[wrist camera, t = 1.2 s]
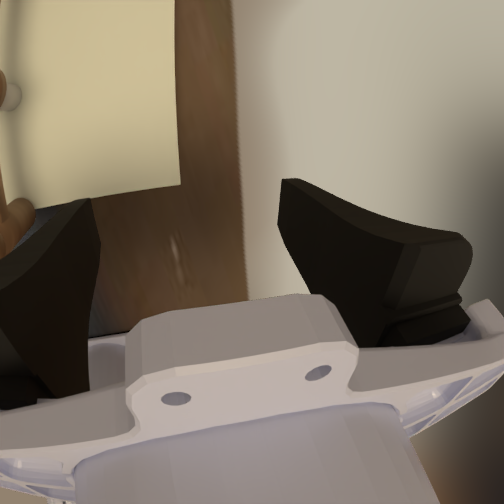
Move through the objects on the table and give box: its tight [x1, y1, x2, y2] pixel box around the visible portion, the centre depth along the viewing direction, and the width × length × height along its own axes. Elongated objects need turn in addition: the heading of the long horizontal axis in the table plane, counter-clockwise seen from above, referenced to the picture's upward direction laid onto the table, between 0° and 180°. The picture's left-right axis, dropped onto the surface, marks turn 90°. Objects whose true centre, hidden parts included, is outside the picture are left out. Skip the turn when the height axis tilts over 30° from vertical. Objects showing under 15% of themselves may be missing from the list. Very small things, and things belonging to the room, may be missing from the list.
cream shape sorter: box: [0, 0, 181, 209], centre depth 12 cm, size 24×12×7 cm, turn 1°
